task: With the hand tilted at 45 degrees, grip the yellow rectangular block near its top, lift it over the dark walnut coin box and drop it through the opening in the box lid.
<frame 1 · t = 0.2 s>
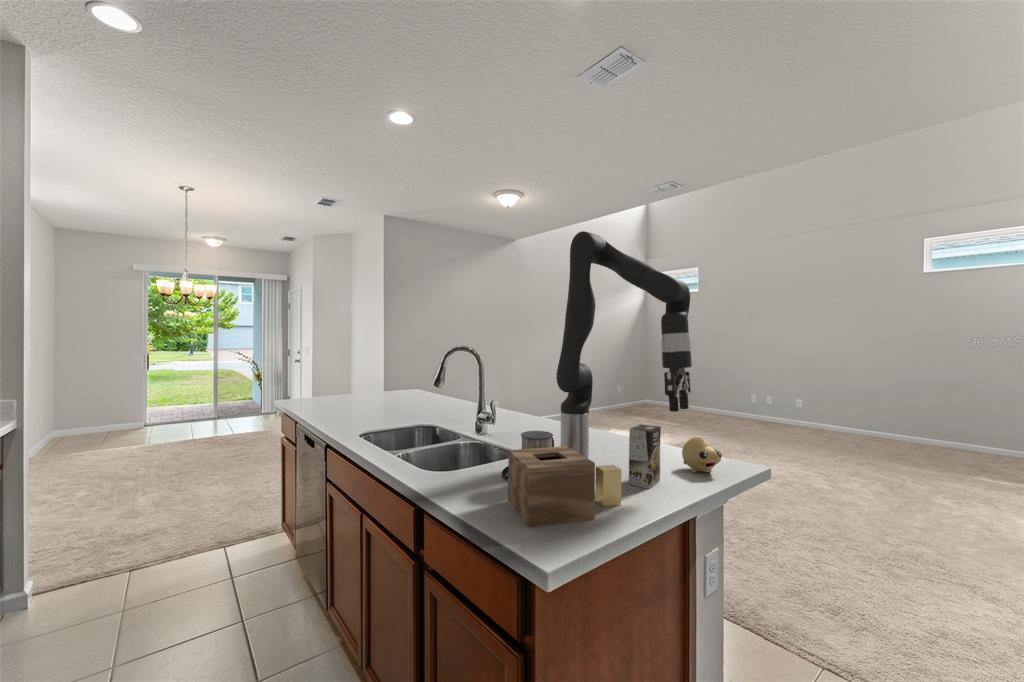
hand: (679, 410, 118), 22 cm above the worktop, tool pointing down, fingers open, 8 cm apart
yellow rectangular block: (608, 503, 110), on the worktop
yellow creature figurine: (701, 472, 136), on the worktop
milk frother: (526, 483, 125), on the worktop
coffee box: (644, 483, 126), on the worktop
coin box: (549, 509, 105), on the worktop
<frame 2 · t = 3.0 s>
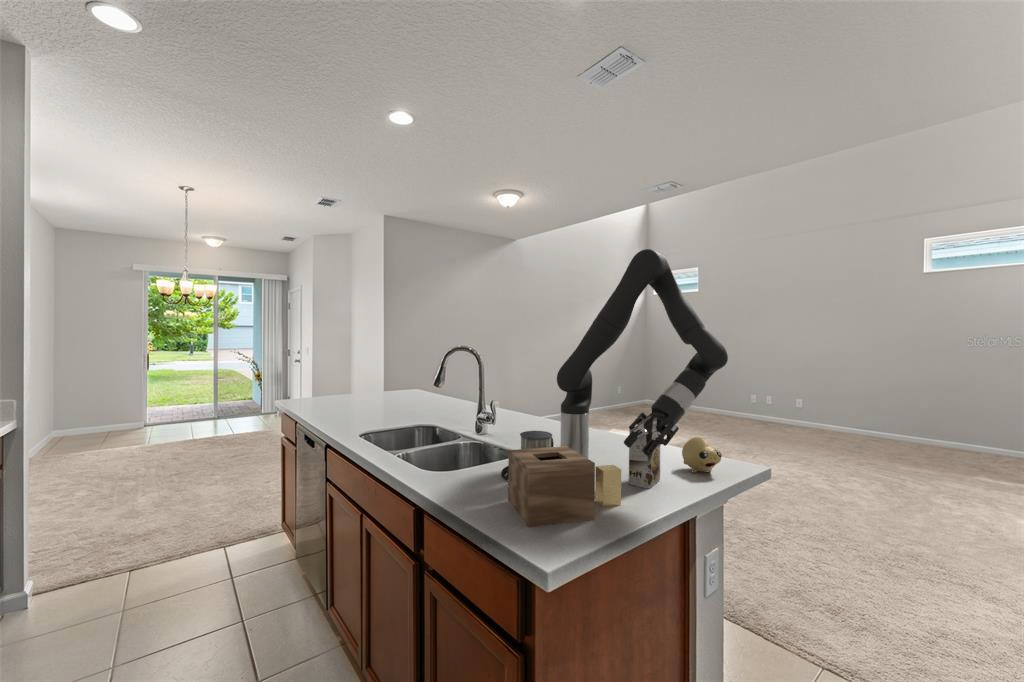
hand: (635, 449, 112), 13 cm above the worktop, tool tilted 45°, fingers open, 8 cm apart
nothing on the worktop moved.
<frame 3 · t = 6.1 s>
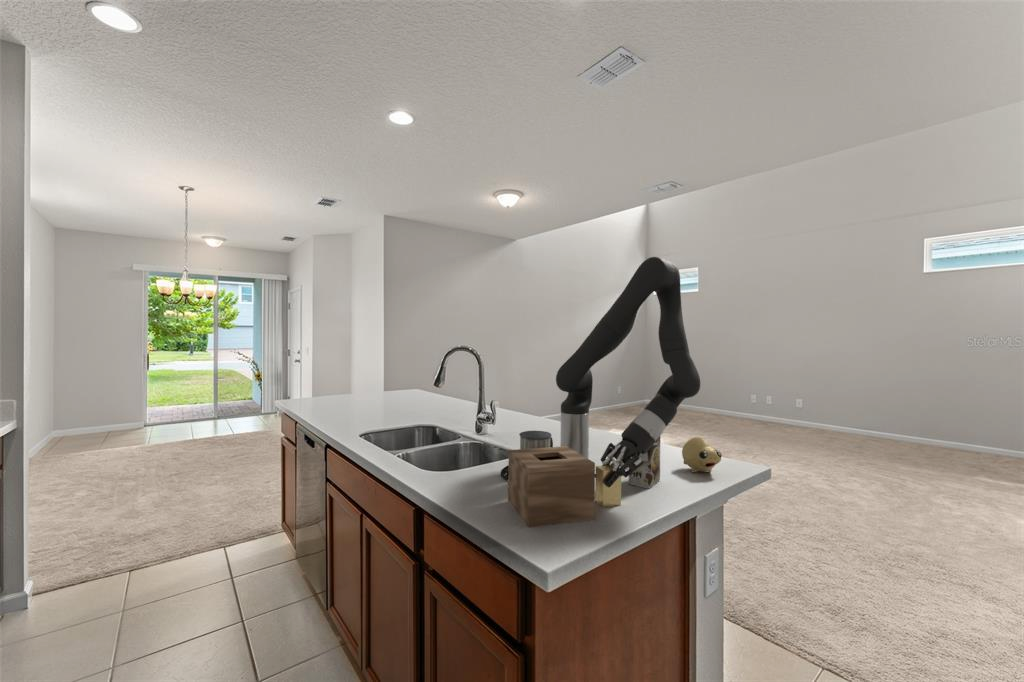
hand: (601, 481, 109), 6 cm above the worktop, tool tilted 45°, fingers closed on yellow rectangular block, 4 cm apart
yellow rectangular block: (608, 503, 110), on the worktop, touching gripper
everything else where it was.
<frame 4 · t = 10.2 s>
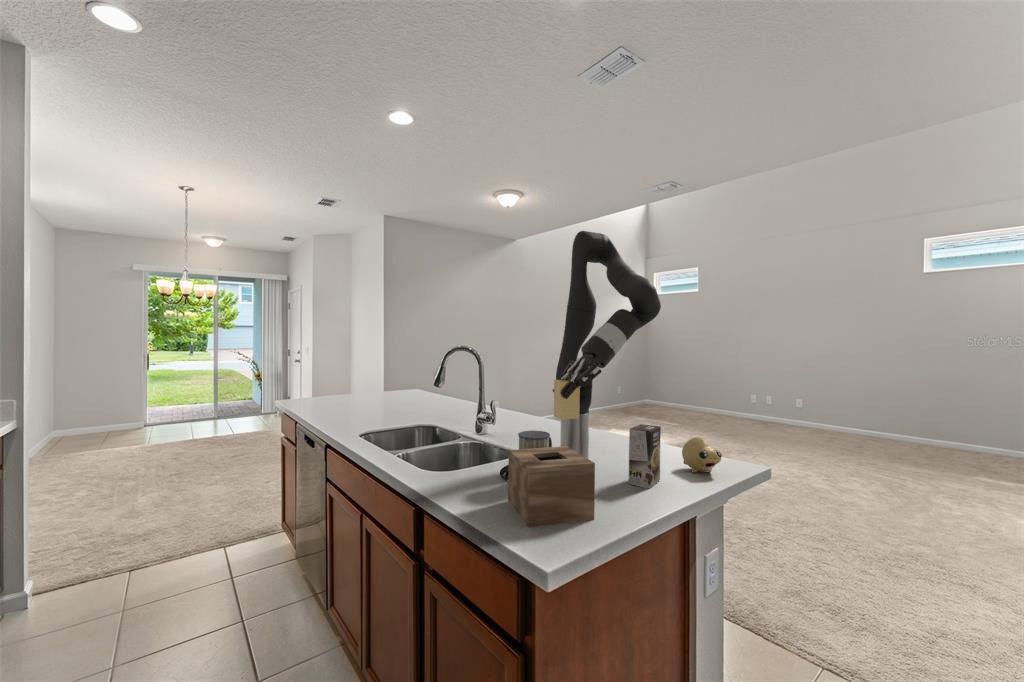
hand: (559, 394, 105), 28 cm above the worktop, tool tilted 45°, fingers closed on yellow rectangular block, 4 cm apart
yellow rectangular block: (566, 417, 106), point 22 cm above the worktop, touching gripper
everything else where it was.
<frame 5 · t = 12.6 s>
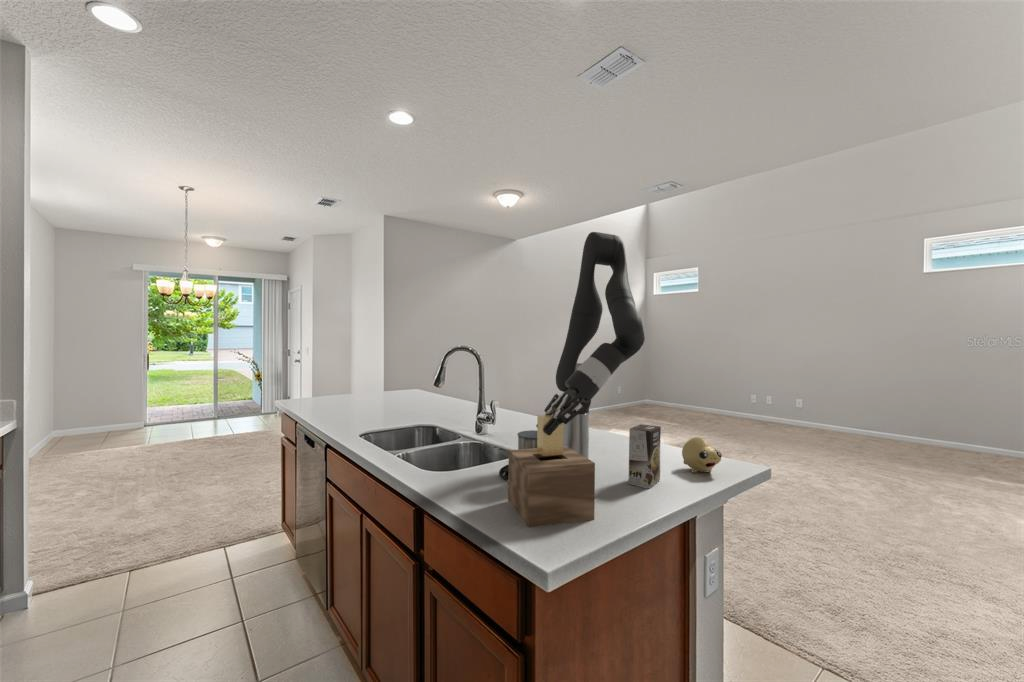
hand: (542, 430, 105), 19 cm above the worktop, tool tilted 45°, fingers closed on yellow rectangular block, 4 cm apart
yellow rectangular block: (549, 453, 105), point 14 cm above the worktop, touching gripper
everything else where it was.
when the fingers open (16 cm above the worktop, at t = 14.1 s): yellow rectangular block drops 10 cm, resting on coin box.
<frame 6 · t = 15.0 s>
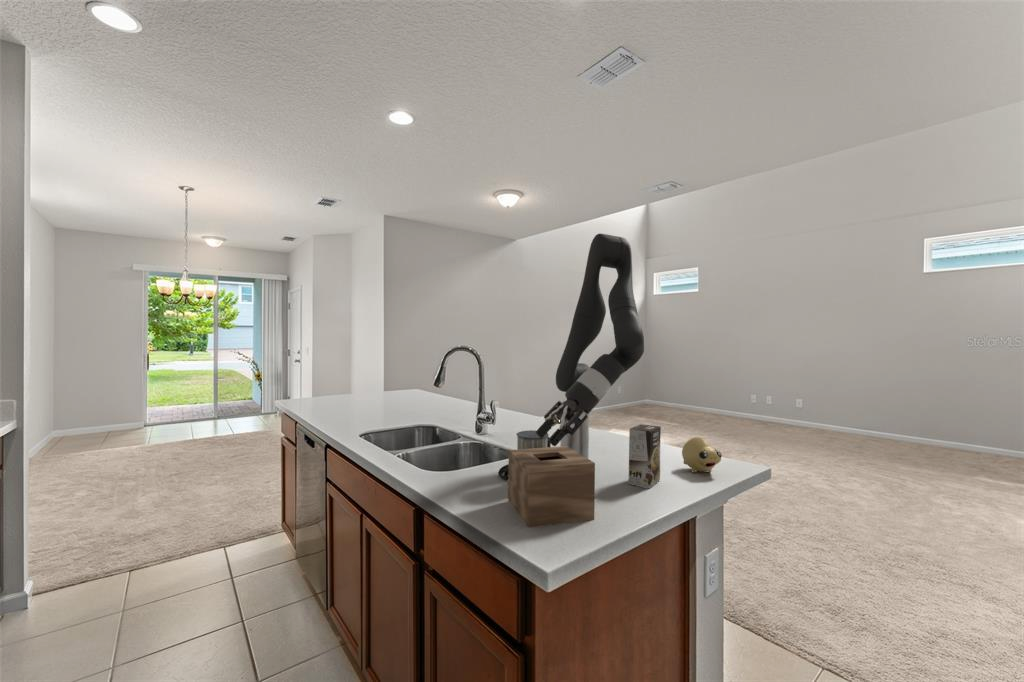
hand: (544, 439, 105), 17 cm above the worktop, tool tilted 45°, fingers open, 8 cm apart
yellow rectangular block: (548, 505, 105), point 1 cm above the worktop, touching coin box
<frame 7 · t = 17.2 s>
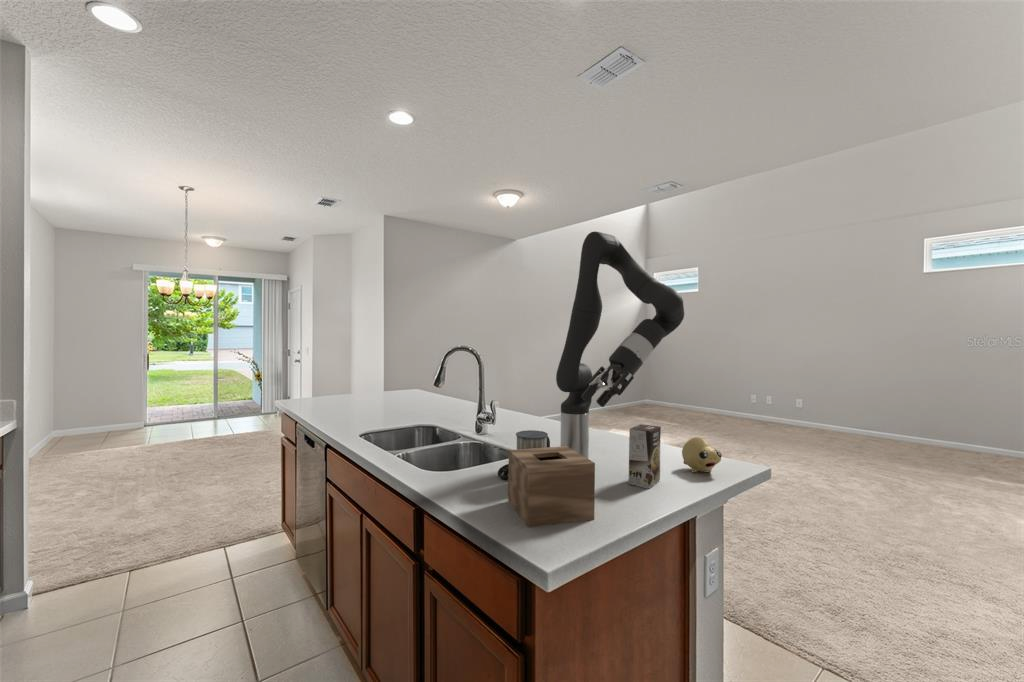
hand: (591, 401, 109), 26 cm above the worktop, tool tilted 45°, fingers open, 8 cm apart
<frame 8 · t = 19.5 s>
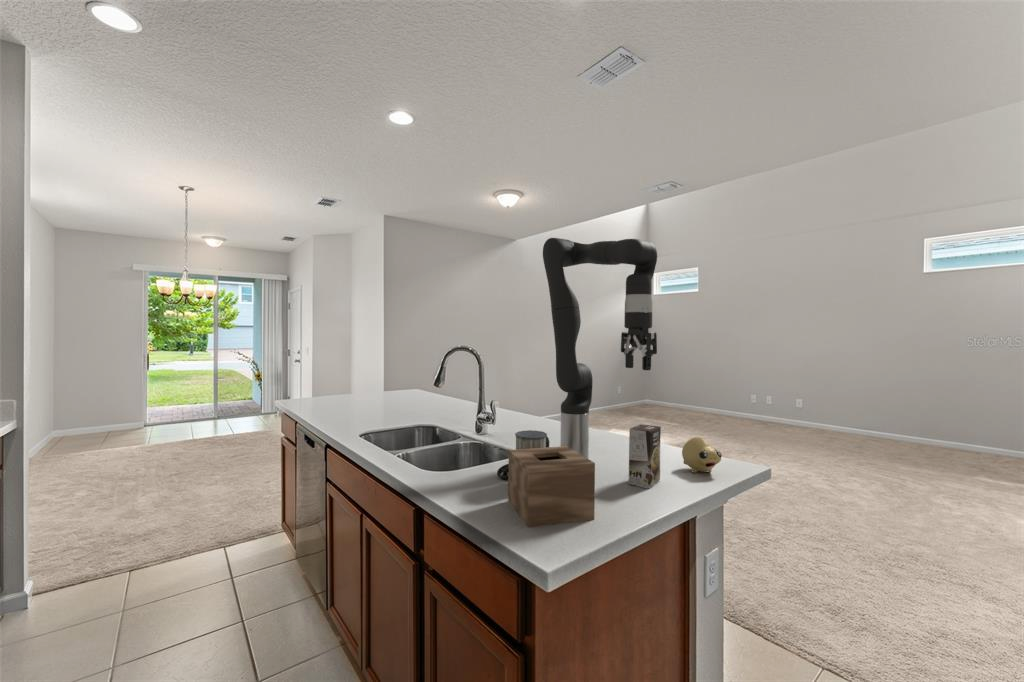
hand: (637, 369, 122), 33 cm above the worktop, tool pointing down, fingers open, 8 cm apart
at the end: yellow rectangular block inside the target area on the coin box (0.1 cm from its centre), point 1.0 cm above the coin box's base; the gripper is holding nothing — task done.
